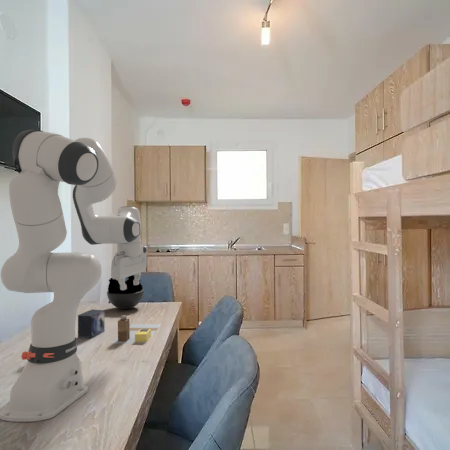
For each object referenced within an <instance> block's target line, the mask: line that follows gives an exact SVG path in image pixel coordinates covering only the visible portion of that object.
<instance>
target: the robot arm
mask: <svg viewBox="0 0 450 450" xmlns="http://www.w3.org/2000/svg"><path fill="white" fill-rule="evenodd" d="M11 153H12V158H13V163H12V165H13V167H14V169H15V170H16V172H17V174H16V175H14V176H13V177H12V178H11V180H10V181H9V186H8V190H9V191H8V194H9V202H10V209H11V213H12V217H13V221H14V225H15V228H16V233H17V237H18V248H17V250H16V251H15V253H14V254H13V255H11V256H10V257H8V258H7V259H5V262H4V263H3V264H2V267H1V269H0V280H1V282H2V284H3V285H2V286H4V288H6V290H8V291H11V292H15V293H22V294H23V293H24V294H38V293H39V294H40V293H53V298H52V299H53V300H52V301H51V302H49V303H46V304H45V305H43V306H42V307H40V308H38V309H37V310H36V311H34V313H33V315H32V316H31V320H30V323H31V324H30V325H31V326H30V327H31V328H30V329H31V331H30V332H31V336H30V337H31V339H30V340H31V343H30V345H29V348H28V350H27V351H23V352H22V353H21V356H20V357H21V359H22V361H23V360H25V361H26V360H27V362H25V363H26V364H25V365H24V367H23V368H22V369H21V372H20V374H18V377H17V378H16V381H14V383H13V385H12V387H11V390H10V395H9V401H8V402H7V403H6V404H5V406H4V407H3V408H2V409H1V410H0V420H2V421H5V422H6V421H7V422H15V423H16V422H18V423H19V422H24V423H26V422H37V421H38V422H39V421H40V422H41V421H44V420H45V421H46V420H49V419H53V418H54V417H56V416H57V415H58V414H59V413H61V412H62V411H63V410H65V409H66V408H68V406H70V405H72V404H73V403H74V402H76V400H78V399H79V398H81V397H82V396H84V395H85V394H86V393H88V391H89V388H88V386H87V385H85V384H84V375H83V366H82V365H83V364H82V361H81V359H80V358H79V356H78V355H77V352H78V339H77V338H78V337H76V318H77V310H78V308H79V305H80V303H81V301H82V299H83V298H84V297H85V295H86V294H87V293H88V292H89V291H91V290H92V289H93V288H94V287H95V286H96V285H97V284H98V283H99V281H100V279H101V276H102V266H101V263H100V260H99V259H98V258H97V257H96V256H95V255H94V254H90V253H86V252H78V251H77V252H76V251H75V252H74V251H73V252H72V251H71V252H52V251H54V250H55V251H56V249H57V248H59V247H60V246H61V245H62V244H63V243H64V242H65V240H66V239H67V238H66V237H67V233H68V231H67V227H66V223H65V217H64V213H63V208H62V207H63V206H62V203H61V199H60V196H59V186H60V182H61V183H66V184H67V185H73V189H72V200H73V204H74V207H75V208H74V209H75V211H76V214H77V217H78V219H79V223H80V226H81V227H80V228H81V234H82V237H83V239H84V240H85V242H87V243H88V244H89V245H93V246H94V245H102V244H103V245H104V244H105V245H106V244H108V245H109V244H111V245H112V244H116V253H115V255H114V256H113V258H112V260H111V268H110V276H111V277H110V278H112V279H116V280H117V281H118V282H119V284H120V290H126V289H127V285H125V281H126V278H127V277H129V276H132V275H134V277H135V278H134V280H133V284H134V285H138V284H139V279H141V275H142V273H144V272H146V269H147V266H148V265H147V264H148V263H147V261H148V257H147V253H148V247H146V246H144V245H143V244H142V238H141V234H142V220H141V213H140V210H139V209H138V208H137V207H135V206H128V205H127V206H120V207H118V210H117V215H97V214H95V211H94V208H93V205H94V204H97V203H101V202H103V201H105V200H106V199H108V198H109V197H110V196H112V194H113V193H114V192H115V190H116V187H117V183H118V181H117V176H116V173H115V171H114V168H113V165H112V163H111V161H110V160H109V158H108V156H107V154H106V152H105V150H104V149H103V148H102V146H101V144H99V141H96V140H95V139H93V138H91V137H81V138H77V139H74V140H73V139H71V138H69V137H65V136H64V135H62V134H58V133H54V132H48V131H43V130H40V129H27V130H23V131H21V132H19V133H18V134H17V135H16V137H15V138H14V140H13V143H12V151H11Z"/></svg>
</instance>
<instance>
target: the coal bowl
mask: <svg viewBox="0 0 450 450" xmlns="http://www.w3.org/2000/svg"><path fill="white" fill-rule="evenodd" d="M126 278H127V279H126V280H125V285H127V289H126V290H120V284H119V282H118V279H112V277H110V278H109V280H108V286H107V291H106V296H107V298H108V302H110V303H111V304H112V306H114V307H115V308H117V309H120V310H129V309H133V308H135V307H136V306H138V304H140V302H141V301H142V299H143V297H144V294H145V289H144V288H143V285H142V283H141V280H140V279H141V278H140V279H139V284H138V285H134V284H133V280H134V278H135V275H132V276H129V277H126Z"/></svg>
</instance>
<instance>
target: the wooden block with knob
mask: <svg viewBox="0 0 450 450" xmlns="http://www.w3.org/2000/svg"><path fill="white" fill-rule="evenodd" d="M127 317H128V316H127V314H126V315H125V314H124V315H123V314H122V315H120V318H119V319H118V320H117V337H118V341H128V340H129V339H130V325H131V324H130V318H127Z"/></svg>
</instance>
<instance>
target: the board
mask: <svg viewBox="0 0 450 450" xmlns="http://www.w3.org/2000/svg"><path fill="white" fill-rule="evenodd" d="M129 325H130V339H129V340H128V341H118V336H116V338H114V339H113V340H112V341H111V342H110V344H147V343H148V342H149V341H150V339H151V338H152V337H153V336H154V334H156V332H157V331H158V329H159V328H160V327H161V325H162V324H161V323H156V324H155V323H150V324H149V323H147V324H145V323H144V324H143V323H141V324H140V323H131V324H129ZM140 329H151V337H150V338H149V340H148V341H147V342H135V334H136V333H137V332H138V331H139V330H140Z"/></svg>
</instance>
